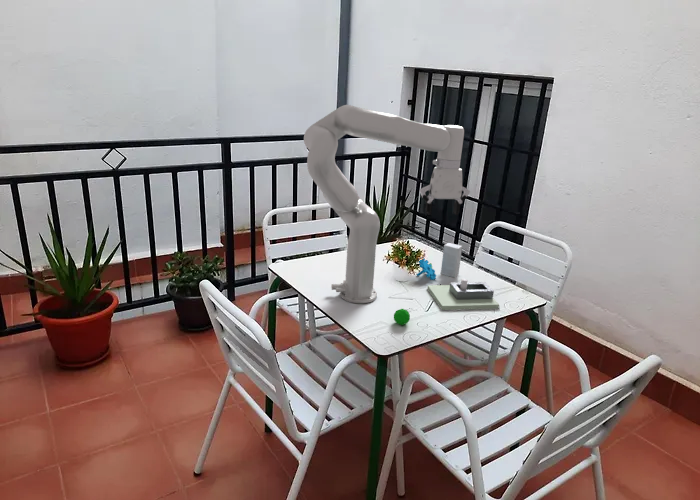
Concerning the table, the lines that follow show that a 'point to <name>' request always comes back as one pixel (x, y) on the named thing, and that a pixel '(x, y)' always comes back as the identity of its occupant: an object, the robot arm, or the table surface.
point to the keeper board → (450, 302)
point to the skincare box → (451, 259)
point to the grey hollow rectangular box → (471, 291)
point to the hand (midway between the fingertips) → (442, 214)
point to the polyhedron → (401, 316)
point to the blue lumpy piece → (427, 269)
